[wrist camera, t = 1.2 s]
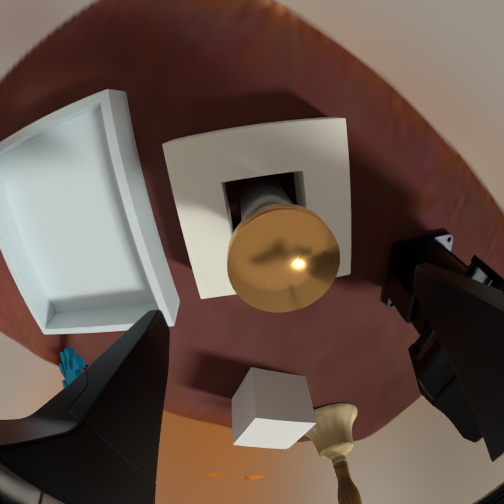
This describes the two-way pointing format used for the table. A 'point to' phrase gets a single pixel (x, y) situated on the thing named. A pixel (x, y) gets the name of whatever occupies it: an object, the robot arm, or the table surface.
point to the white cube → (271, 409)
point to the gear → (70, 365)
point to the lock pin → (279, 251)
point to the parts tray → (82, 221)
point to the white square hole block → (254, 165)
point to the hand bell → (336, 444)
